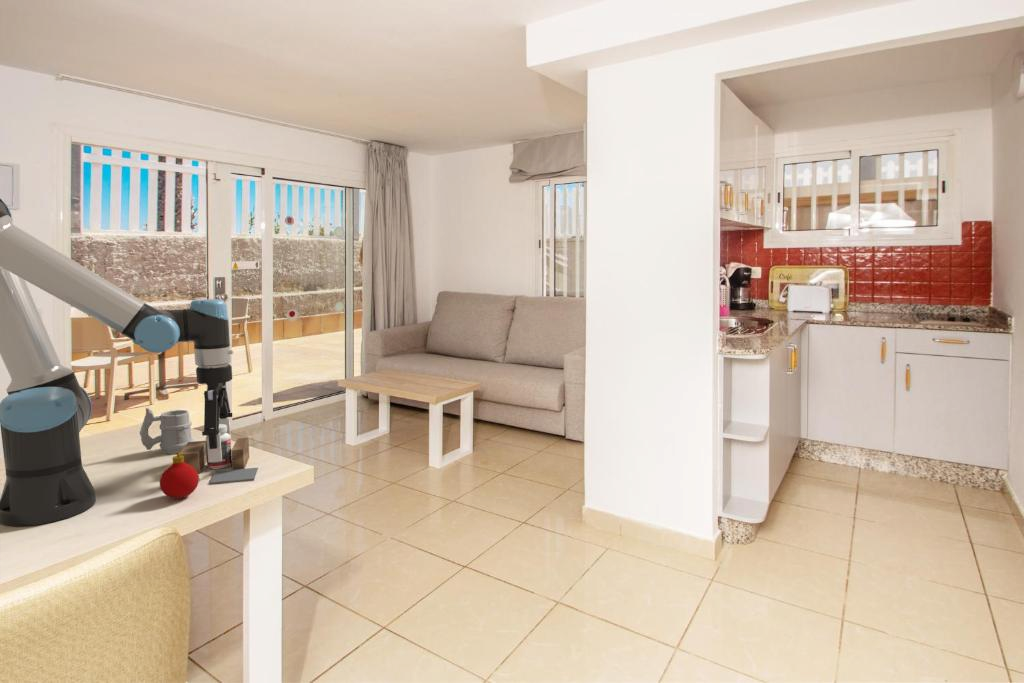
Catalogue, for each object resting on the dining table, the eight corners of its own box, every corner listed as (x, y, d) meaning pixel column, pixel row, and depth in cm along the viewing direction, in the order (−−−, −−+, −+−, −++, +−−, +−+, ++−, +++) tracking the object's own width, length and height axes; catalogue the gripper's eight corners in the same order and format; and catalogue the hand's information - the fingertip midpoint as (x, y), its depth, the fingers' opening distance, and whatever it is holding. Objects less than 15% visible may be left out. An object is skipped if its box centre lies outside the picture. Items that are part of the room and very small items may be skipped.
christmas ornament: (202, 498, 123) (199, 452, 121) (162, 506, 119) (159, 458, 117) (197, 488, 128) (194, 443, 127) (159, 495, 124) (155, 449, 123)
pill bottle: (233, 466, 142) (231, 427, 141) (208, 471, 139) (206, 430, 138) (230, 460, 146) (227, 421, 145) (205, 464, 143) (203, 425, 142)
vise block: (179, 475, 136) (178, 454, 135) (189, 461, 145) (188, 441, 145) (244, 470, 140) (243, 449, 139) (249, 456, 149) (248, 437, 148)
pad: (209, 484, 131) (209, 482, 130) (215, 472, 138) (215, 471, 138) (254, 480, 133) (254, 478, 133) (257, 469, 140) (257, 467, 140)
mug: (196, 451, 154) (193, 405, 152) (142, 459, 147) (138, 412, 145) (192, 443, 160) (189, 400, 158) (140, 451, 153) (136, 405, 151)
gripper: (222, 373, 129) (229, 467, 132) (238, 356, 152) (244, 436, 155) (183, 375, 127) (191, 471, 129) (206, 357, 150) (212, 439, 153)
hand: (220, 452), depth 142 cm, fingers open, 13 cm apart
